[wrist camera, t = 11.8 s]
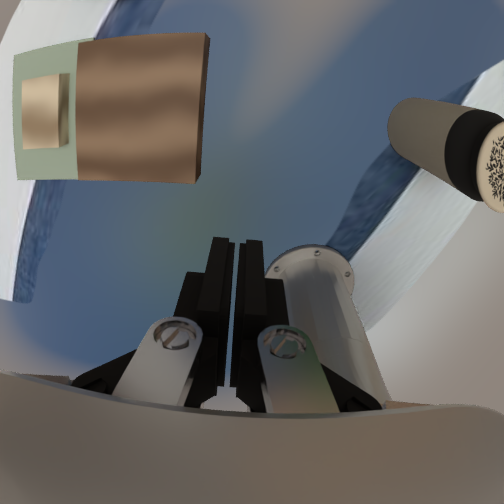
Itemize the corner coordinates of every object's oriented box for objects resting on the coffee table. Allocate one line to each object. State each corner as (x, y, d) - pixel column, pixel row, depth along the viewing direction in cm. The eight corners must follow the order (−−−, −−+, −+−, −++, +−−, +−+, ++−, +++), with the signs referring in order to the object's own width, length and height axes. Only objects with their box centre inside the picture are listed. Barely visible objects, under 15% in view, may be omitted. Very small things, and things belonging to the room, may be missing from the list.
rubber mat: (93, 178, 37) (91, 179, 36) (19, 179, 36) (17, 180, 36) (94, 37, 28) (93, 37, 28) (15, 55, 28) (14, 55, 27)
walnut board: (200, 174, 37) (195, 184, 33) (92, 170, 36) (78, 180, 33) (210, 38, 29) (205, 32, 26) (94, 45, 29) (78, 42, 25)
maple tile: (23, 149, 31) (33, 145, 34) (58, 147, 32) (68, 143, 34) (22, 80, 27) (33, 79, 29) (59, 73, 27) (69, 73, 30)
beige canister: (398, 169, 36) (483, 231, 20) (376, 109, 33) (467, 135, 17) (447, 147, 35) (543, 196, 19) (429, 89, 31) (533, 108, 15)
